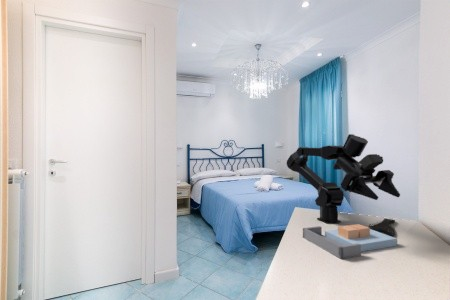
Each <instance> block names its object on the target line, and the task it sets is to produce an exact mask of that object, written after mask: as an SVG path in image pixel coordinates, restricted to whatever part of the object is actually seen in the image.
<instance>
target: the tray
mask: <svg viewBox="0 0 450 300" xmlns="http://www.w3.org/2000/svg"><path fill="white" fill-rule="evenodd" d="M322 228H323V227H322V226H321V225H319V226H318V225H317V226H310V227H302V238H304V239H305V240H307V241H308V242H310V243H312V244H314V245H315V246H318V247H319V248H321V249H322V250H325V251H326V252H328V253H330V254H331V255H333V256H335V257H337V258H338V259H340V260H344V259H349V258H355V257H360V256H362V251H361V244H359V243H357V244H351V245H342V244H340V243H338V242H336V241H334V240H332V239H330V238H328V237H326V236H325V234H323V233H322V232H323V230H322Z"/></svg>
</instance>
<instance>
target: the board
mask: <svg viewBox="0 0 450 300" xmlns="http://www.w3.org/2000/svg"><path fill="white" fill-rule="evenodd" d="M324 236H326V237H328V238H330V239H332V240H334V241H336V242H338V243H340V244H342V245H351V244H357V243H359V244H361V252H365V251H372V250H377V249H383V248H389V247H393V246H394V247H395V246H398V238H396V237H393V236H392V235H388V234H384V233H380V232H377V231H374V230H372V229H370V236H367V237H359V238H354V239H346V238H344V237H342V236H340V235H338V228H336V229H329V230H324Z"/></svg>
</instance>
